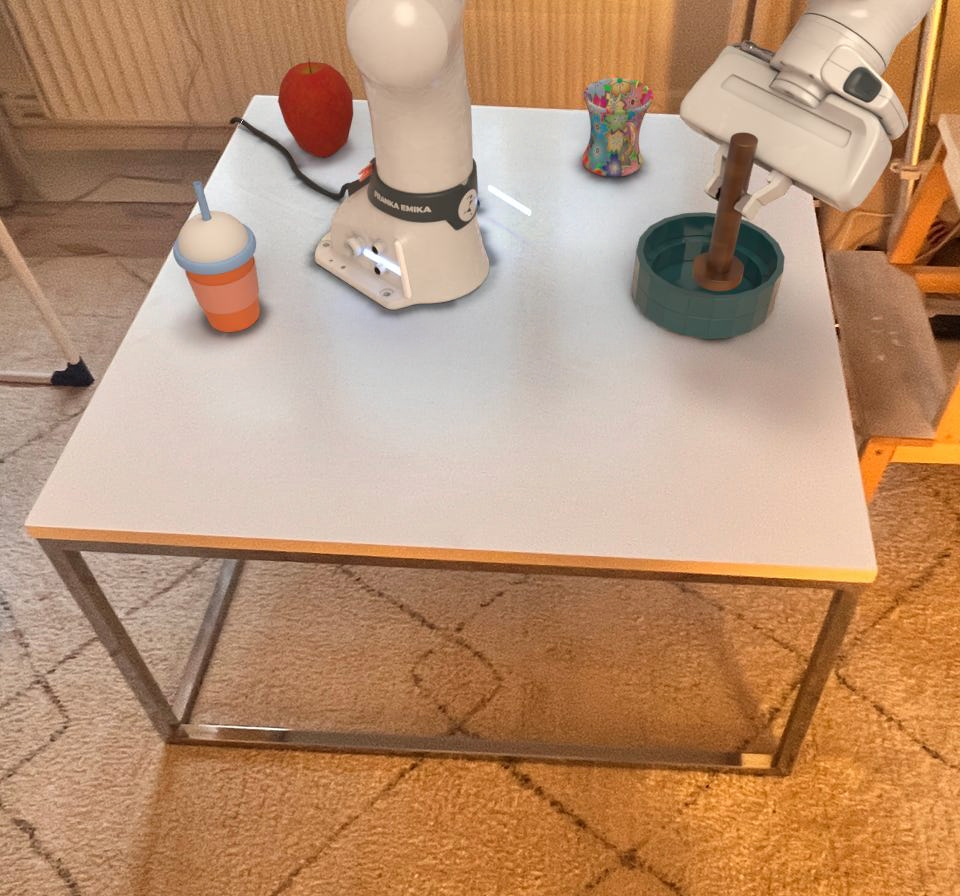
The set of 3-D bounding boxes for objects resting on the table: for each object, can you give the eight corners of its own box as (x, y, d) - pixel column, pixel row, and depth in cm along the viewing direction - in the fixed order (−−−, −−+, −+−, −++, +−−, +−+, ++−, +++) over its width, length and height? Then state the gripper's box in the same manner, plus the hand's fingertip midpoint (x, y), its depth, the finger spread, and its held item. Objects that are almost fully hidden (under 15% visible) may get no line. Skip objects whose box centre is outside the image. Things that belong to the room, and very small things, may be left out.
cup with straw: (256, 345, 107) (221, 211, 94) (183, 336, 109) (138, 203, 95) (283, 296, 113) (253, 164, 100) (213, 288, 115) (174, 157, 101)
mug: (571, 152, 134) (575, 81, 126) (632, 144, 135) (640, 73, 127) (595, 197, 126) (601, 125, 118) (660, 188, 127) (670, 116, 119)
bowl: (607, 312, 110) (611, 268, 105) (667, 241, 119) (674, 197, 114) (739, 362, 103) (750, 317, 99) (792, 283, 113) (805, 238, 108)
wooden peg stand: (683, 280, 93) (706, 144, 82) (703, 255, 96) (729, 119, 84) (729, 297, 91) (760, 159, 80) (749, 270, 94) (782, 133, 82)
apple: (370, 140, 138) (359, 47, 127) (338, 174, 131) (324, 79, 121) (309, 128, 140) (294, 36, 130) (275, 161, 134) (256, 67, 124)
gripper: (722, 17, 86) (634, 147, 90) (909, 99, 75) (801, 244, 79) (746, 50, 91) (662, 172, 95) (924, 132, 80) (822, 267, 84)
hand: (726, 206), depth 87 cm, fingers closed on wooden peg stand, 2 cm apart
